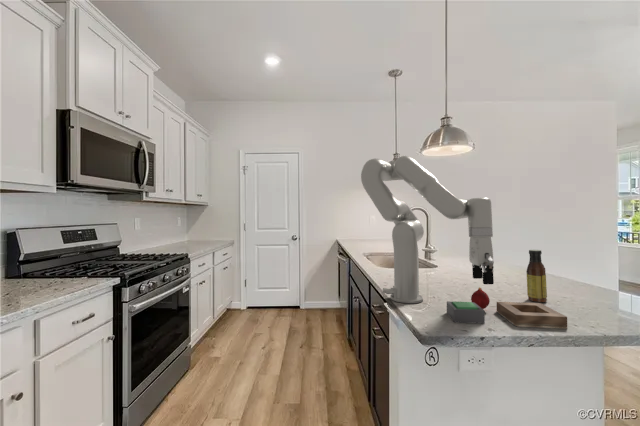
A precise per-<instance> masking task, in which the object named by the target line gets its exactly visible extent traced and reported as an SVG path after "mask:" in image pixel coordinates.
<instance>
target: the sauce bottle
mask: <svg viewBox="0 0 640 426" xmlns="http://www.w3.org/2000/svg"><path fill="white" fill-rule="evenodd" d="M528 254H529V262H528V265H527V268H526V291H527V298H528V300H529V301H532V302H533V303H546V302H547V301H548V299H547V297H548V291H547V289H548V287H547V274H546V268H545V266H544V264H543V263H542V249H529V250H528Z"/></svg>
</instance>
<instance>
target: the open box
mask: <svg viewBox="0 0 640 426" xmlns="http://www.w3.org/2000/svg"><path fill="white" fill-rule="evenodd" d="M496 313H498V314H499V315H500V316H502V317H503V318H504V319H506V320H507V321H509V323H511V324H512V323H513V325H514V326H515V327H520V328H521V327H522V328H542V329H545V328H546V329H563V330H564V329H567V330H568V316H566V315H565V314H563V313H560V312H559V311H556V310H554V309H553V308H552V307H549V306H548V305H547V306H546V305H545V304H543V303H542V302H523V301H522V302H520V301H519V302H517V301H512V302H511V301H496Z"/></svg>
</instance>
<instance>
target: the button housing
mask: <svg viewBox="0 0 640 426" xmlns="http://www.w3.org/2000/svg"><path fill="white" fill-rule="evenodd" d="M471 302H472V301H471ZM472 303H473V304H474V305H475V306H476V307H478V309H456V308H455V306H454V305H453V304H452V301H448V300H447V301H446V314H447V315H448V316H449V317H450V318H451V320H452V321H453V323H466V324H467V323H468V324H485V321H486V320H485V318H486V317H485V309H482V308H481V307H479V306H478V305H477V304H476V303H475V302H472Z"/></svg>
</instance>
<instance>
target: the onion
mask: <svg viewBox="0 0 640 426" xmlns="http://www.w3.org/2000/svg"><path fill="white" fill-rule="evenodd" d="M470 298H471V299H470V300H471V301H470V302H475V303H476V304H477V305H478V306H479V307H481V308H482V309H483V310H485V309H486V308H487V307H488V306H489V305H490V302H491V301H490V297H489V295H488V294H487V292H486V291H484V290H483V289H482V287H478V289H477V290H475V291H474V292H473V293H472V294H471V296H470Z"/></svg>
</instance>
